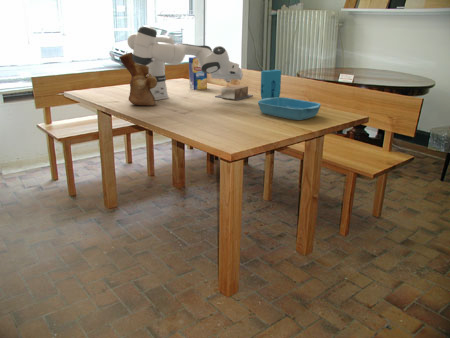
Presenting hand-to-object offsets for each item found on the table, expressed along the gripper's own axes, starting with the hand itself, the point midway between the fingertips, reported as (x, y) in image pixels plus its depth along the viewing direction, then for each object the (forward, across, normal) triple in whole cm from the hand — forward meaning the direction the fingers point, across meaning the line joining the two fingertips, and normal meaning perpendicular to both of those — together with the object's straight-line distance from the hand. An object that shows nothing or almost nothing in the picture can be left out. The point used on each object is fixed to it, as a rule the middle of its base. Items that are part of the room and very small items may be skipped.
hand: (228, 81), depth 290 cm
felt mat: (+12, +2, -3) cm, 12 cm away
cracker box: (+29, -32, +14) cm, 45 cm away
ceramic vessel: (-18, -46, -34) cm, 60 cm away
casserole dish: (-17, +45, -34) cm, 59 cm away
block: (0, +30, -15) cm, 33 cm away
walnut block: (+2, 0, -8) cm, 8 cm away
